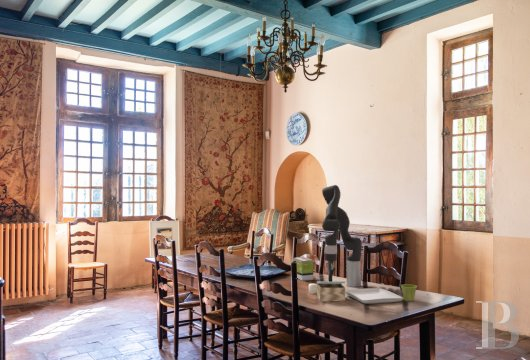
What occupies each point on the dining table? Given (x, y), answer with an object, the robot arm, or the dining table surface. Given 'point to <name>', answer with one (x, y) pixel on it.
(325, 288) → the woven basket
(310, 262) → the tea box
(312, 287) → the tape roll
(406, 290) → the plant pot
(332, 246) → the robot arm
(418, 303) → the dining table surface
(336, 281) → the box lid
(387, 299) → the square plate
